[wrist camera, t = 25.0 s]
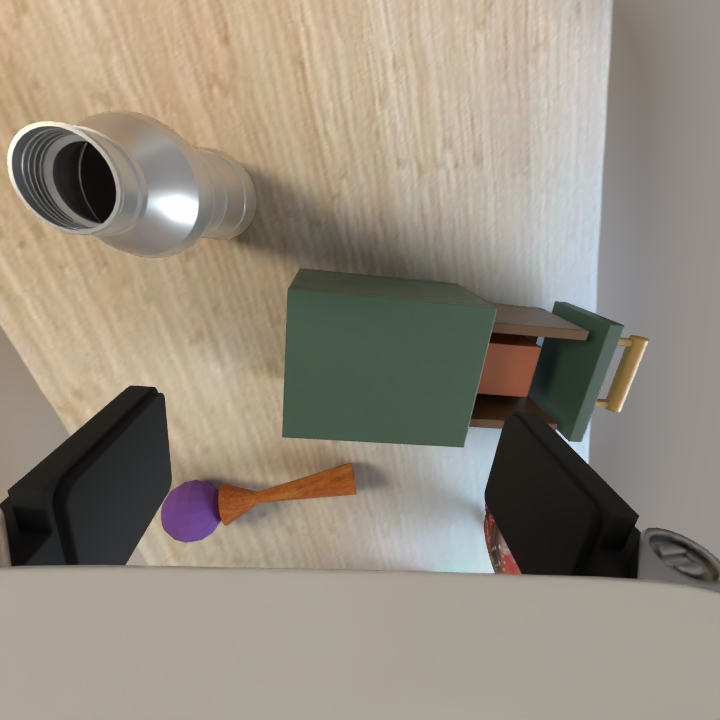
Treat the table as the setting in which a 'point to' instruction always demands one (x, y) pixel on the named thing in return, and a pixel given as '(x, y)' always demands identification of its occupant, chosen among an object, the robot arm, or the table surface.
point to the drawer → (564, 367)
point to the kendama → (241, 501)
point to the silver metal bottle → (130, 183)
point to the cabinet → (382, 358)
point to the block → (508, 365)
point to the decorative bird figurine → (498, 548)
